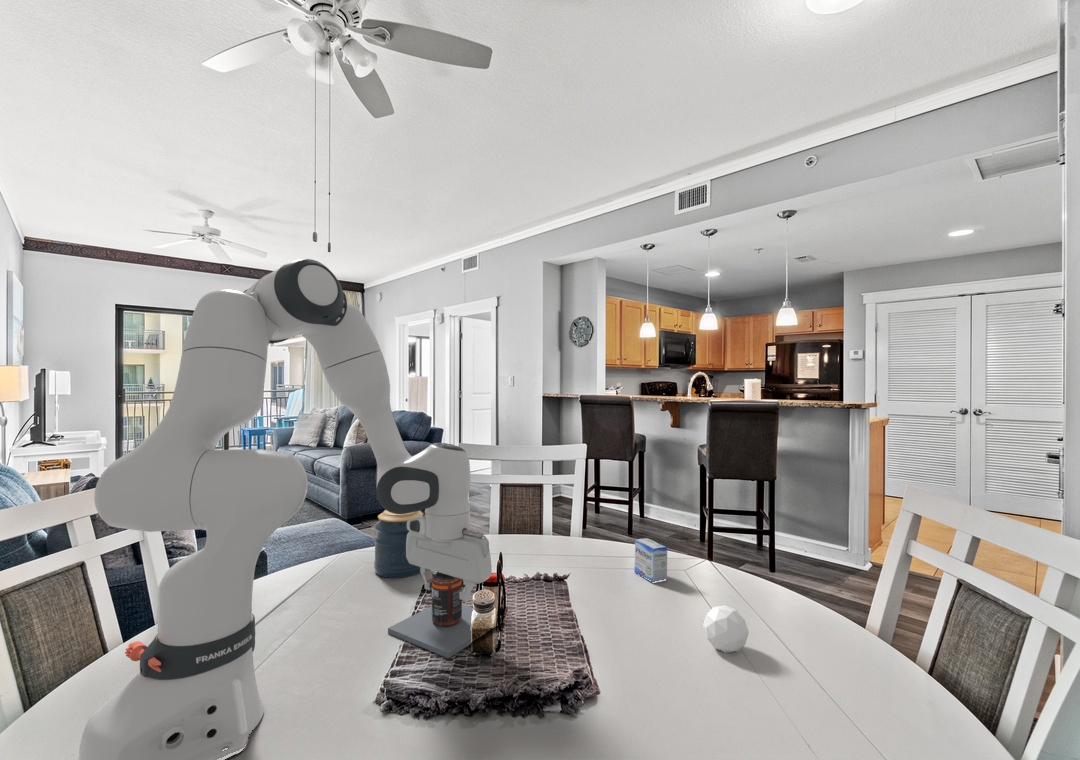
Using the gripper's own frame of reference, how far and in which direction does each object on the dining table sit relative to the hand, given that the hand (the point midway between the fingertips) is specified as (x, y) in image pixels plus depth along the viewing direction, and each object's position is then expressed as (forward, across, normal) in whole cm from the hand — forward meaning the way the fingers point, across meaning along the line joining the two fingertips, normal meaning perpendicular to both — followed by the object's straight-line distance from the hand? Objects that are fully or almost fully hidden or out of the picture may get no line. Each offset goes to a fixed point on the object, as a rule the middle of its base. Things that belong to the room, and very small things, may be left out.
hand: (447, 594), depth 100 cm
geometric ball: (+7, -48, -23) cm, 54 cm away
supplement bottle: (+6, +1, -1) cm, 6 cm away
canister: (+7, +32, -16) cm, 36 cm away
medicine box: (+7, -24, -48) cm, 54 cm away
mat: (+7, 0, 0) cm, 7 cm away
